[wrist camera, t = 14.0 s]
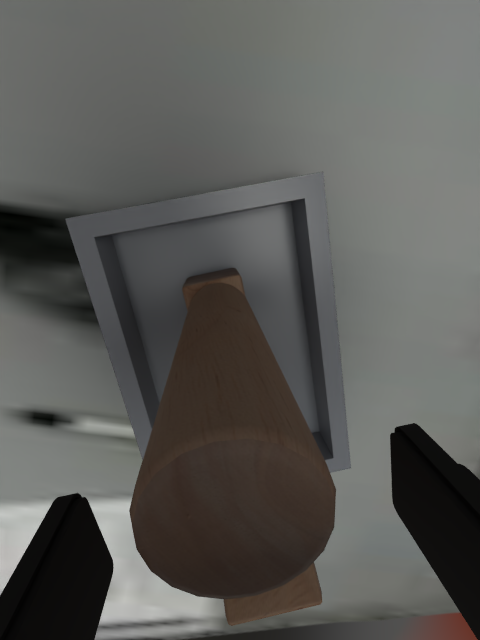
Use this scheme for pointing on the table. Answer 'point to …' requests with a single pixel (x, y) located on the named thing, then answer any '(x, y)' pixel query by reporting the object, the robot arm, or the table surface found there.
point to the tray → (209, 256)
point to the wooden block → (232, 467)
